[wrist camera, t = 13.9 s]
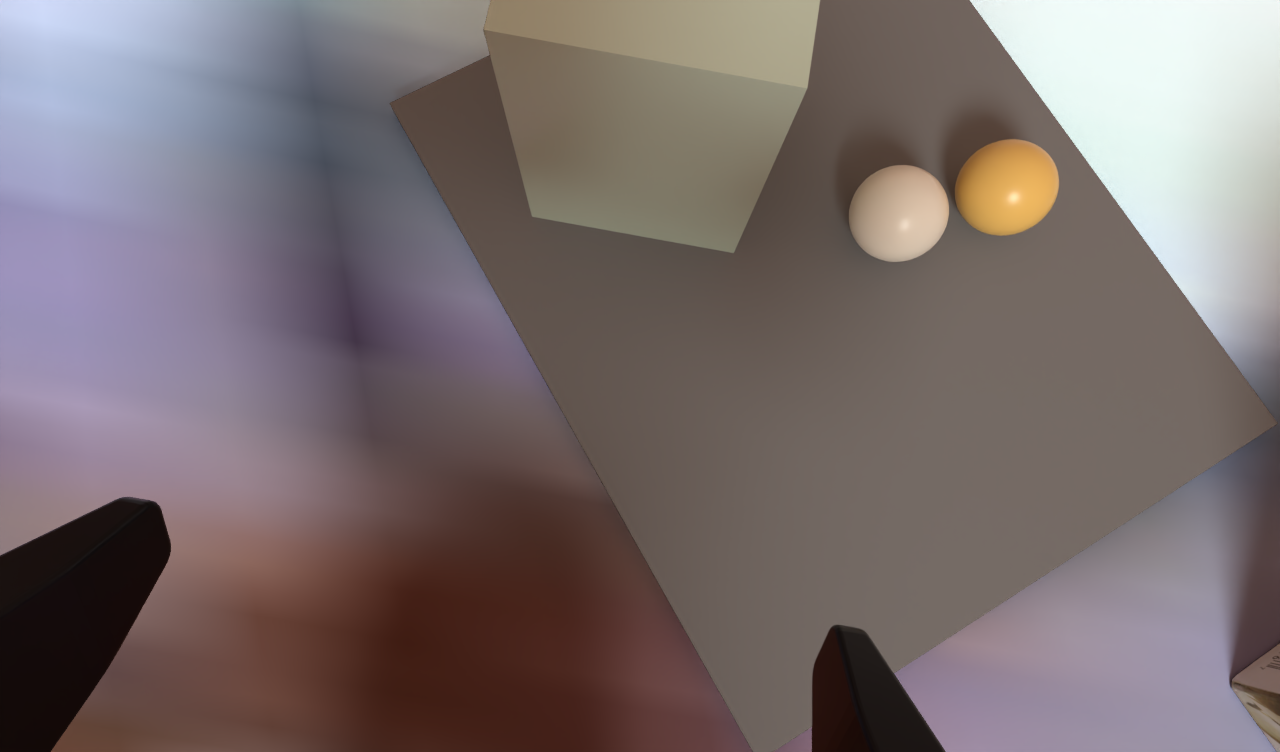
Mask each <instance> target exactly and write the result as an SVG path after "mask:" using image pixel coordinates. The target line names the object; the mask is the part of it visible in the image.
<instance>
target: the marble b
mask: <svg viewBox="0 0 1280 752" xmlns="http://www.w3.org/2000/svg"><path fill="white" fill-rule="evenodd" d="M1058 189H1059V176H1058V171H1057V168H1056V165H1055V163H1054V161H1053V160H1052V158H1051V157H1050V156H1049V154H1048V153H1047V152H1046V151H1045V150H1043V149H1042V148H1041V147H1039V146H1037V145H1036V144H1033V143H1031V142H1028V141H1024V140H1018V139H1007V140H1000V141H997V142H994V143H991V144H988V145H986V146H984V147H983V148H981V149H979V150H978V151H977V152H975V153H974V154H973V155H972V156H971V157H970V158H969V159H968V160H967V161H966V163H965V164H964V165H963V167H962V168H961V170H960V172H959V175H958V177H957V181H956V185H955V200H956V205H957V208H958V210H959V212H960V214H961V215H962V217H963V218H964V219H965V221H966V222H967V223H968V224H969V225H971V226H972V227H973V228H975V229H977V230H978V231H981V232H983V233H986V234H990V235H997V236H1006V235H1013V234H1017V233H1020V232H1023V231H1025V230H1027V229H1029V228H1031V227H1033V226H1034V225H1036V224H1037V223H1038V222H1040V221H1041V220H1042V219H1043V218H1044V217H1045V216H1046V215H1047V213H1048V212H1049V211H1050V209H1051V208H1052V206H1053V204H1054V202H1055V200H1056V197H1057V194H1058Z"/></svg>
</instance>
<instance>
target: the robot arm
mask: <svg viewBox="0 0 1280 752" xmlns="http://www.w3.org/2000/svg"><path fill="white" fill-rule="evenodd" d="M170 552H171V542H170V539H169V535H168V532H167V528H166V525H165V521H164V518H163V514H162V511H161V508H160V506H159V505H158V504H157V503H156V502H154V501H150V500H144V499H139V498H133V497H123V498H119V499H117V500H114V501H112V502H110V503H108V504H106V505H104V506H102V507H100V508H98V509H96V510H93V511H91V512H89V513H87V514H85V515H83V516H81V517H79V518H77V519H75V520H73V521H71V522H69V523H67V524H65V525H63V526H60V527H58V528H56V529H54V530H52V531H50V532H48V533H46V534H44V535H42V536H40V537H38V538H36V539H34V540H32V541H29V542H27V543H25V544H23V545H21V546H19V547H17V548H15V549H13V550H11V551H9V552H7V553H5V554H3V555H1V556H0V752H51V750H52V749H53V748H54V746H55V745H56V743H57V742H58V740H59V739H60V737H61V736H62V735H63V733H64V732H65V730H66V729H67V727H68V726H69V724H70V723H71V722H72V720H73V719H74V717H75V716H76V714H77V713H78V711H79V710H80V709H81V707H82V706H83V704H84V703H85V701H86V700H87V698H88V697H89V696H90V694H91V693H92V691H93V690H94V688H95V687H96V685H97V684H98V682H99V681H100V679H101V678H102V676H103V675H104V673H105V672H106V670H107V669H108V667H109V666H110V664H111V662H112V661H113V659H114V657H115V656H116V654H117V652H118V650H119V649H120V647H121V645H122V643H123V641H124V640H125V638H126V636H127V634H128V632H129V631H130V629H131V627H132V625H133V623H134V622H135V620H136V618H137V616H138V614H139V613H140V611H141V609H142V607H143V605H144V604H145V602H146V600H147V598H148V596H149V595H150V593H151V591H152V589H153V587H154V586H155V584H156V582H157V580H158V578H159V576H160V575H161V573H162V571H163V569H164V567H165V566H166V564H167V562H168V559H169V556H170ZM812 752H945V750H944V748H943V747H942V745H941V744H940V742H939V741H938V739H937V738H936V736H935V735H934V733H933V732H932V730H931V729H930V727H929V726H928V724H927V723H926V721H925V720H924V718H923V717H922V715H921V714H920V712H919V711H918V709H917V708H916V706H915V705H914V703H913V702H912V700H911V699H910V697H909V696H908V694H907V693H906V691H905V690H904V688H903V687H902V685H901V684H900V682H899V681H898V679H897V678H896V676H895V674H894V673H893V671H892V670H891V668H890V667H889V665H888V664H887V662H886V661H885V659H884V658H883V656H882V655H881V653H880V652H879V650H878V649H877V647H876V646H875V644H874V643H873V641H872V640H871V638H870V637H869V635H868V634H867V633H866V632H865V631H864V630H862V629H860V628H856V627H850V626H844V625H839V624H837V625H833V626H832V627H831V628H830V630H829V631H828V634H827V636H826V638H825V640H824V642H823V645H822V647H821V649H820V651H819V653H818V655H817V658H816V660H815V663H814V667H813V674H812Z"/></svg>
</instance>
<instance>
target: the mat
mask: <svg viewBox="0 0 1280 752" xmlns="http://www.w3.org/2000/svg"><path fill="white" fill-rule="evenodd" d="M390 105H391V107H392V109H393V111H394V113H395V114H396V116H397V118H398V120H399V122H400V123H401V125H402V127H403V129H404V130H405V132H406V134H407V136H408V138H409V139H410V141H411V143H412V145H413V146H414V148H415V150H416V152H417V154H418V155H419V157H420V159H421V161H422V163H423V164H424V166H425V168H426V170H427V171H428V173H429V175H430V177H431V179H432V180H433V182H434V184H435V186H436V188H437V189H438V191H439V193H440V195H441V196H442V198H443V200H444V202H445V204H446V205H447V207H448V209H449V211H450V212H451V214H452V216H453V218H454V220H455V221H456V223H457V225H458V227H459V229H460V230H461V232H462V234H463V236H464V237H465V239H466V241H467V243H468V245H469V246H470V248H471V250H472V252H473V254H474V255H475V257H476V259H477V261H478V262H479V264H480V266H481V268H482V270H483V271H484V273H485V275H486V277H487V278H488V280H489V282H490V284H491V286H492V287H493V289H494V291H495V293H496V295H497V296H498V298H499V300H500V302H501V303H502V305H503V307H504V309H505V311H506V312H507V314H508V316H509V318H510V320H511V321H512V323H513V325H514V327H515V328H516V330H517V332H518V334H519V336H520V337H521V339H522V341H523V343H524V344H525V346H526V348H527V350H528V352H529V353H530V355H531V357H532V359H533V361H534V362H535V364H536V366H537V368H538V369H539V371H540V373H541V375H542V377H543V378H544V380H545V382H546V384H547V386H548V387H549V389H550V391H551V393H552V394H553V396H554V398H555V400H556V402H557V403H558V405H559V407H560V409H561V410H562V412H563V414H564V416H565V418H566V419H567V421H568V423H569V425H570V427H571V428H572V430H573V432H574V434H575V435H576V437H577V439H578V441H579V443H580V444H581V446H582V448H583V450H584V452H585V453H586V455H587V457H588V459H589V460H590V462H591V464H592V466H593V468H594V469H595V471H596V473H597V475H598V476H599V478H600V480H601V482H602V484H603V485H604V487H605V489H606V491H607V493H608V494H609V496H610V498H611V500H612V501H613V503H614V505H615V507H616V509H617V510H618V512H619V514H620V516H621V517H622V519H623V521H624V523H625V525H626V526H627V528H628V530H629V532H630V534H631V535H632V537H633V539H634V541H635V542H636V544H637V546H638V548H639V550H640V551H641V553H642V555H643V557H644V559H645V560H646V562H647V564H648V566H649V567H650V569H651V571H652V573H653V575H654V576H655V578H656V580H657V582H658V583H659V585H660V587H661V589H662V591H663V592H664V594H665V596H666V598H667V600H668V601H669V603H670V605H671V607H672V608H673V610H674V612H675V614H676V616H677V617H678V619H679V621H680V623H681V625H682V626H683V628H684V630H685V632H686V633H687V635H688V637H689V639H690V641H691V642H692V644H693V646H694V648H695V649H696V651H697V653H698V655H699V657H700V658H701V660H702V662H703V664H704V666H705V667H706V669H707V671H708V673H709V674H710V676H711V678H712V680H713V682H714V683H715V685H716V687H717V689H718V691H719V692H720V694H721V696H722V698H723V699H724V701H725V703H726V705H727V707H728V708H729V710H730V712H731V714H732V715H733V717H734V719H735V721H736V723H737V724H738V726H739V728H740V730H741V732H742V733H743V735H744V737H745V739H746V740H747V742H748V744H749V746H750V748H751V749H752V751H753V752H774V751H775V750H777V749H778V748H780V747H781V746H783V745H784V744H786V743H788V742H789V741H791V740H792V739H794V738H795V737H797V736H798V735H800V734H801V733H803V732H804V731H806V730H808V729H809V728H811V727H812V674H813V667H814V663H815V660H816V658H817V655H818V653H819V651H820V649H821V647H822V645H823V642H824V640H825V638H826V636H827V634H828V631H829V630H830V628H831V627H832V626H833V625H837V624H839V625H844V626H850V627H856V628H860V629H862V630H864V631H865V632H866V633H867V634H868V635H869V637H870V638H871V640H872V641H873V643H874V644H875V646H876V647H877V649H878V650H879V652H880V653H881V655H882V656H883V658H884V659H885V661H886V662H887V664H888V665H889V667H890V668H891V670H892V671H893V673H895V672H897V671H898V670H900V669H901V668H903V667H904V666H906V665H907V664H909V663H911V662H912V661H914V660H915V659H917V658H918V657H920V656H921V655H923V654H924V653H926V652H927V651H929V650H931V649H932V648H934V647H935V646H937V645H938V644H940V643H941V642H943V641H944V640H946V639H947V638H949V637H951V636H952V635H954V634H955V633H957V632H958V631H960V630H961V629H963V628H964V627H966V626H967V625H969V624H971V623H972V622H974V621H975V620H977V619H978V618H980V617H981V616H983V615H984V614H986V613H987V612H989V611H991V610H992V609H994V608H995V607H997V606H998V605H1000V604H1001V603H1003V602H1004V601H1006V600H1007V599H1009V598H1010V597H1012V596H1014V595H1015V594H1017V593H1018V592H1020V591H1021V590H1023V589H1024V588H1026V587H1027V586H1029V585H1030V584H1032V583H1034V582H1035V581H1037V580H1038V579H1040V578H1041V577H1043V576H1044V575H1046V574H1047V573H1049V572H1050V571H1052V570H1054V569H1055V568H1057V567H1058V566H1060V565H1061V564H1063V563H1064V562H1066V561H1067V560H1069V559H1070V558H1072V557H1074V556H1075V555H1077V554H1078V553H1080V552H1081V551H1083V550H1084V549H1086V548H1087V547H1089V546H1090V545H1092V544H1094V543H1095V542H1097V541H1098V540H1100V539H1101V538H1103V537H1104V536H1106V535H1107V534H1109V533H1110V532H1112V531H1114V530H1115V529H1117V528H1118V527H1120V526H1121V525H1123V524H1124V523H1126V522H1127V521H1129V520H1130V519H1132V518H1134V517H1135V516H1137V515H1138V514H1140V513H1141V512H1143V511H1144V510H1146V509H1147V508H1149V507H1150V506H1152V505H1154V504H1155V503H1157V502H1158V501H1160V500H1161V499H1163V498H1164V497H1166V496H1167V495H1169V494H1170V493H1172V492H1174V491H1175V490H1177V489H1178V488H1180V487H1181V486H1183V485H1184V484H1186V483H1187V482H1189V481H1190V480H1192V479H1193V478H1195V477H1197V476H1198V475H1200V474H1201V473H1203V472H1204V471H1206V470H1207V469H1209V468H1210V467H1212V466H1213V465H1215V464H1217V463H1218V462H1220V461H1221V460H1223V459H1224V458H1226V457H1227V456H1229V455H1230V454H1232V453H1233V452H1235V451H1237V450H1238V449H1240V448H1241V447H1243V446H1244V445H1246V444H1247V443H1249V442H1250V441H1252V440H1253V439H1255V438H1257V437H1258V436H1260V435H1261V434H1263V433H1264V432H1266V431H1267V430H1269V429H1270V428H1272V427H1273V426H1275V425H1277V424H1278V423H1277V422H1276V420H1275V419H1274V417H1273V416H1272V415H1271V413H1270V412H1269V411H1268V409H1267V408H1266V407H1265V405H1264V404H1263V402H1262V401H1261V400H1260V398H1259V397H1258V396H1257V394H1256V393H1255V391H1254V390H1253V389H1252V387H1251V386H1250V385H1249V383H1248V382H1247V380H1246V379H1245V378H1244V376H1243V375H1242V374H1241V372H1240V371H1239V369H1238V368H1237V367H1236V365H1235V364H1234V363H1233V361H1232V360H1231V359H1230V357H1229V356H1228V354H1227V353H1226V352H1225V350H1224V349H1223V348H1222V346H1221V345H1220V343H1219V342H1218V341H1217V339H1216V338H1215V337H1214V335H1213V334H1212V332H1211V331H1210V330H1209V328H1208V327H1207V326H1206V324H1205V323H1204V321H1203V320H1202V319H1201V317H1200V316H1199V315H1198V313H1197V312H1196V311H1195V309H1194V308H1193V306H1192V305H1191V304H1190V302H1189V301H1188V300H1187V298H1186V297H1185V295H1184V294H1183V293H1182V291H1181V290H1180V289H1179V287H1178V286H1177V284H1176V283H1175V282H1174V280H1173V279H1172V278H1171V276H1170V275H1169V273H1168V272H1167V271H1166V269H1165V268H1164V267H1163V265H1162V264H1161V262H1160V261H1159V260H1158V258H1157V257H1156V256H1155V254H1154V253H1153V252H1152V250H1151V249H1150V247H1149V246H1148V245H1147V243H1146V242H1145V241H1144V239H1143V238H1142V236H1141V235H1140V234H1139V232H1138V231H1137V230H1136V228H1135V227H1134V225H1133V224H1132V223H1131V221H1130V220H1129V219H1128V217H1127V216H1126V214H1125V213H1124V212H1123V210H1122V209H1121V208H1120V206H1119V205H1118V204H1117V202H1116V201H1115V199H1114V198H1113V197H1112V195H1111V194H1110V193H1109V191H1108V190H1107V188H1106V187H1105V186H1104V184H1103V183H1102V182H1101V180H1100V179H1099V177H1098V176H1097V175H1096V173H1095V172H1094V171H1093V169H1092V168H1091V166H1090V165H1089V164H1088V162H1087V161H1086V160H1085V158H1084V157H1083V156H1082V154H1081V153H1080V151H1079V150H1078V149H1077V147H1076V146H1075V145H1074V143H1073V142H1072V140H1071V139H1070V138H1069V136H1068V135H1067V134H1066V132H1065V131H1064V129H1063V128H1062V127H1061V125H1060V124H1059V123H1058V121H1057V120H1056V118H1055V117H1054V116H1053V114H1052V113H1051V112H1050V110H1049V109H1048V108H1047V106H1046V105H1045V103H1044V102H1043V101H1042V99H1041V98H1040V97H1039V95H1038V94H1037V92H1036V91H1035V90H1034V88H1033V87H1032V86H1031V84H1030V83H1029V81H1028V80H1027V79H1026V77H1025V76H1024V75H1023V73H1022V72H1021V70H1020V69H1019V68H1018V66H1017V65H1016V64H1015V62H1014V61H1013V60H1012V58H1011V57H1010V55H1009V54H1008V53H1007V51H1006V50H1005V49H1004V47H1003V46H1002V44H1001V43H1000V42H999V40H998V39H997V38H996V36H995V35H994V33H993V32H992V31H991V29H990V28H989V27H988V25H987V24H986V22H985V21H984V20H983V18H982V17H981V16H980V14H979V13H978V11H977V10H976V9H975V7H974V6H973V5H972V3H971V2H970V1H969V0H820V5H819V12H818V19H817V25H816V32H815V39H814V46H813V53H812V60H811V67H810V74H809V80H808V87H807V90H806V92H805V95H804V97H803V99H802V101H801V104H800V106H799V108H798V110H797V113H796V115H795V117H794V119H793V122H792V124H791V126H790V128H789V131H788V133H787V135H786V137H785V139H784V142H783V144H782V146H781V148H780V151H779V153H778V155H777V157H776V160H775V162H774V164H773V166H772V169H771V171H770V173H769V175H768V178H767V180H766V182H765V184H764V186H763V189H762V191H761V193H760V195H759V198H758V200H757V202H756V204H755V207H754V209H753V211H752V213H751V216H750V218H749V220H748V222H747V224H746V227H745V229H744V231H743V233H742V236H741V238H740V240H739V242H738V245H737V247H736V249H735V251H734V253H730V252H725V251H719V250H714V249H708V248H703V247H697V246H692V245H686V244H681V243H675V242H670V241H664V240H658V239H653V238H647V237H642V236H636V235H631V234H625V233H620V232H614V231H609V230H603V229H598V228H592V227H587V226H581V225H575V224H570V223H564V222H559V221H553V220H548V219H542V218H537V217H532V215H531V211H530V207H529V203H528V199H527V195H526V192H525V188H524V184H523V180H522V176H521V172H520V168H519V165H518V161H517V157H516V153H515V149H514V145H513V141H512V138H511V134H510V130H509V126H508V122H507V118H506V115H505V111H504V107H503V103H502V99H501V95H500V91H499V88H498V84H497V80H496V76H495V72H494V68H493V65H492V61H491V57H490V55H489V56H487V57H485V58H483V59H481V60H479V61H477V62H475V63H473V64H470V65H468V66H466V67H464V68H462V69H460V70H458V71H456V72H454V73H452V74H450V75H448V76H445V77H443V78H441V79H439V80H437V81H435V82H433V83H431V84H429V85H427V86H425V87H422V88H420V89H418V90H416V91H414V92H412V93H410V94H408V95H406V96H404V97H402V98H399V99H397V100H395V101H393V102H391V103H390ZM1007 139H1018V140H1024V141H1028V142H1031V143H1033V144H1036V145H1037V146H1039V147H1041V148H1042V149H1043V150H1045V151H1046V152H1047V153H1048V154H1049V156H1050V157H1051V158H1052V160H1053V161H1054V163H1055V165H1056V168H1057V171H1058V176H1059V189H1058V194H1057V197H1056V200H1055V202H1054V204H1053V206H1052V208H1051V209H1050V211H1049V212H1048V213H1047V215H1046V216H1045V217H1044V218H1043V219H1042V220H1041V221H1040V222H1038V223H1037V224H1036V225H1034V226H1033V227H1031V228H1029V229H1027V230H1025V231H1023V232H1020V233H1017V234H1013V235H1006V236H997V235H990V234H986V233H983V232H981V231H978V230H977V229H975V228H973V227H972V226H971V225H969V224H968V223H967V222H966V221H965V219H964V218H963V217H962V215H961V214H960V212H959V210H958V208H957V205H956V200H955V185H956V181H957V177H958V175H959V172H960V170H961V168H962V167H963V165H964V164H965V163H966V161H967V160H968V159H969V158H970V157H971V156H972V155H973V154H974V153H975V152H977V151H978V150H979V149H981V148H983V147H984V146H986V145H988V144H991V143H994V142H997V141H1000V140H1007ZM895 165H910V166H915V167H918V168H921V169H923V170H925V171H927V172H929V173H930V174H931V175H933V176H934V177H935V178H936V179H937V180H938V181H939V182H940V184H941V185H942V187H943V188H944V190H945V192H946V195H947V198H948V203H949V217H948V222H947V226H946V228H945V230H944V233H943V234H942V236H941V238H940V239H939V240H938V242H937V243H936V244H935V245H934V246H933V247H932V248H931V249H930V250H929V251H927V252H926V253H924V254H923V255H921V256H919V257H917V258H914V259H911V260H908V261H902V262H888V261H883V260H880V259H877V258H875V257H873V256H871V255H869V254H868V253H866V252H865V251H864V250H863V249H862V248H861V247H860V246H859V245H858V243H857V242H856V241H855V239H854V237H853V235H852V232H851V229H850V225H849V208H850V204H851V201H852V198H853V196H854V194H855V192H856V190H857V189H858V187H859V186H860V185H861V184H862V183H863V182H864V181H865V180H866V179H867V178H868V177H869V176H870V175H872V174H874V173H875V172H877V171H879V170H881V169H883V168H886V167H890V166H895Z"/></svg>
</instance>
